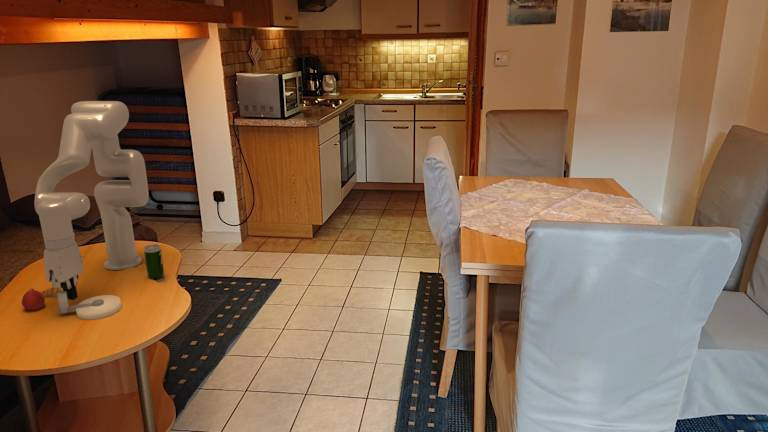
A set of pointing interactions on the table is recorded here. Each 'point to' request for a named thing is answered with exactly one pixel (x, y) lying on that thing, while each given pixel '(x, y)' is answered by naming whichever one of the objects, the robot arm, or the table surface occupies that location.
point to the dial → (90, 306)
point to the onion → (33, 300)
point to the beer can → (154, 262)
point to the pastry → (51, 292)
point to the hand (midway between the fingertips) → (71, 298)
